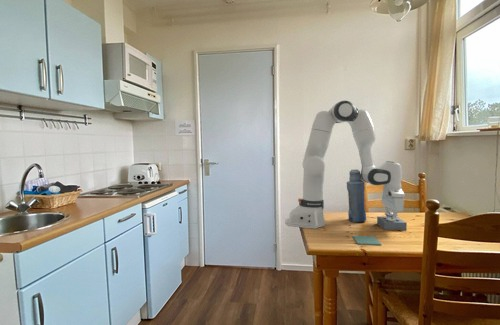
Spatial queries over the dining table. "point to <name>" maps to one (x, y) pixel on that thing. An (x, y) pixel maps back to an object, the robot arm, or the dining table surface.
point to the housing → (391, 224)
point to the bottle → (356, 197)
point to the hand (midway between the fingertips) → (391, 216)
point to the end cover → (390, 216)
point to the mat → (366, 240)
